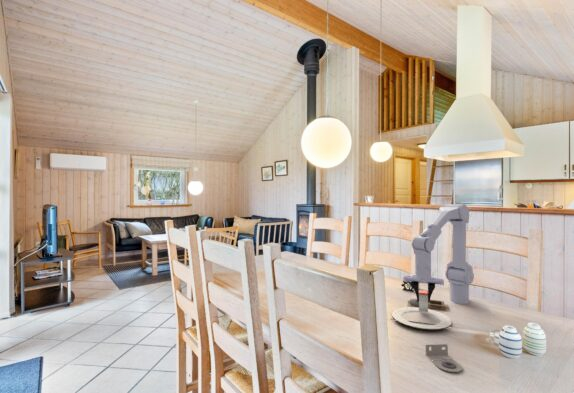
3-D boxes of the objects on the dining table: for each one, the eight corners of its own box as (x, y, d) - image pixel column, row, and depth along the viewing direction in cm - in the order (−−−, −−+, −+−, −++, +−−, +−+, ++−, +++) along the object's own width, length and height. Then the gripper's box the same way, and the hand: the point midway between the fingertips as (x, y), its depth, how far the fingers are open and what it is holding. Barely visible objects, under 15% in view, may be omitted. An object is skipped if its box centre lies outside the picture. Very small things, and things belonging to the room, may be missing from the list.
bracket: (443, 375, 83) (443, 362, 83) (425, 356, 93) (425, 344, 93) (467, 374, 83) (467, 361, 83) (447, 355, 93) (447, 344, 93)
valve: (410, 286, 163) (401, 291, 154) (410, 273, 163) (401, 278, 154) (423, 288, 159) (414, 294, 150) (423, 275, 159) (414, 280, 150)
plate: (456, 337, 104) (456, 332, 104) (391, 329, 112) (390, 323, 112) (447, 315, 124) (447, 310, 124) (392, 309, 131) (392, 304, 131)
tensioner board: (407, 302, 138) (407, 295, 138) (448, 307, 132) (448, 300, 132) (407, 308, 131) (407, 301, 131) (450, 313, 125) (450, 306, 125)
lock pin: (419, 308, 125) (418, 290, 125) (427, 309, 124) (427, 291, 123) (419, 311, 122) (418, 292, 122) (428, 312, 121) (427, 293, 120)
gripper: (403, 267, 122) (403, 302, 122) (444, 270, 116) (444, 306, 116) (403, 263, 128) (403, 296, 128) (443, 266, 122) (443, 301, 123)
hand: (423, 301), depth 122 cm, fingers closed on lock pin, 3 cm apart
